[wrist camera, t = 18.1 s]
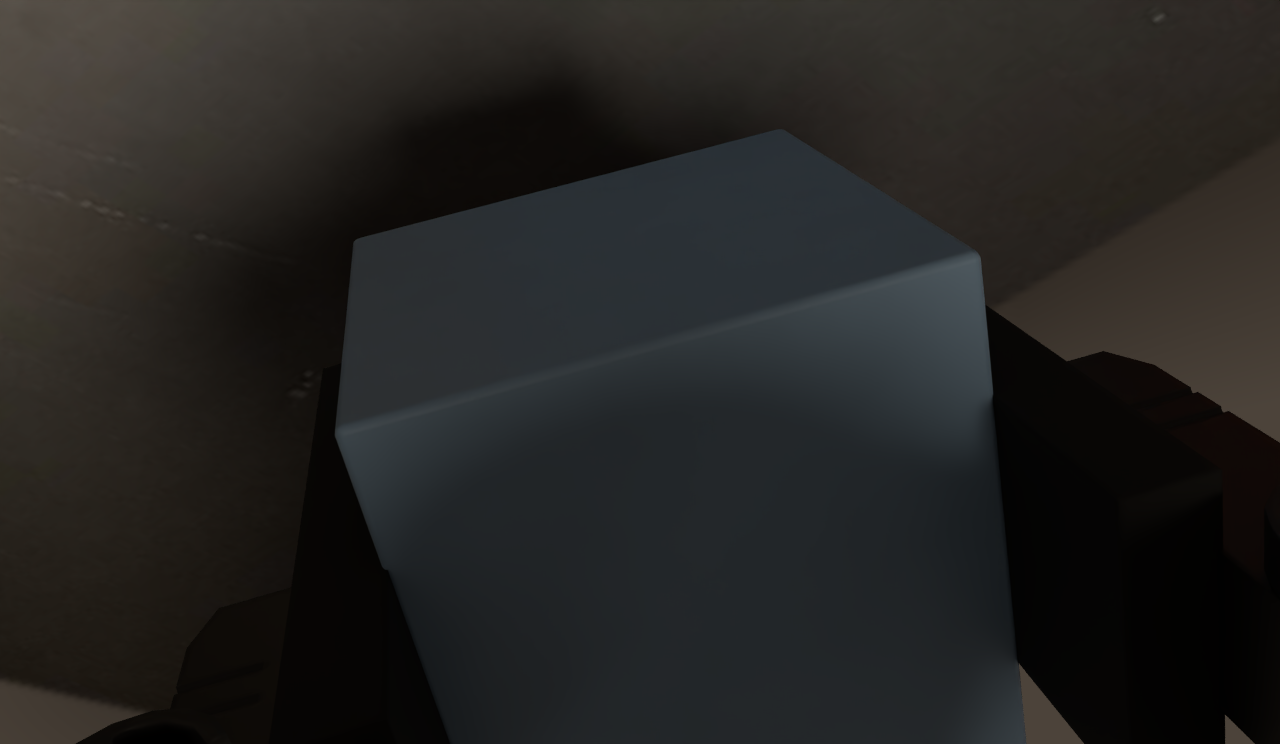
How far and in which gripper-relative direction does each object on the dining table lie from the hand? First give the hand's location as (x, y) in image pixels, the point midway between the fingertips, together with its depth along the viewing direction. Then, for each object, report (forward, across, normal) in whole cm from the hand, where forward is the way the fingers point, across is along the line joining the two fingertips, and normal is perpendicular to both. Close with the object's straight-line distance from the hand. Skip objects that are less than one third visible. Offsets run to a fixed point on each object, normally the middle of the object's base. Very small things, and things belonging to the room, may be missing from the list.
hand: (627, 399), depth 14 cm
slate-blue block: (0, 0, 0) cm, 0 cm away
